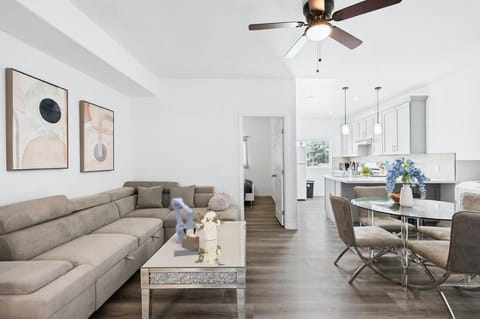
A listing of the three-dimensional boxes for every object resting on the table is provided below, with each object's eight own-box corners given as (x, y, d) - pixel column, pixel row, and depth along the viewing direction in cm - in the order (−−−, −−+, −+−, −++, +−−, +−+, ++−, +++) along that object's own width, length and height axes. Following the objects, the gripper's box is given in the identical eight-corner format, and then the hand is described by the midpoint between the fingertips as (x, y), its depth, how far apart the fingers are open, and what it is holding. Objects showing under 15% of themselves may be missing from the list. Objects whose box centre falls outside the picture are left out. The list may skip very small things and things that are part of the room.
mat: (174, 251, 232) (174, 250, 232) (206, 248, 238) (206, 248, 238) (174, 256, 218) (174, 256, 218) (207, 253, 224) (207, 253, 224)
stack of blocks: (181, 246, 245) (181, 233, 245) (187, 245, 249) (187, 232, 249) (193, 251, 228) (193, 237, 229) (199, 249, 233) (199, 235, 233)
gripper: (181, 223, 241) (182, 238, 241) (197, 222, 245) (198, 237, 244) (181, 222, 248) (182, 236, 248) (197, 221, 251) (197, 235, 251)
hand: (190, 236), depth 246 cm, fingers open, 7 cm apart
